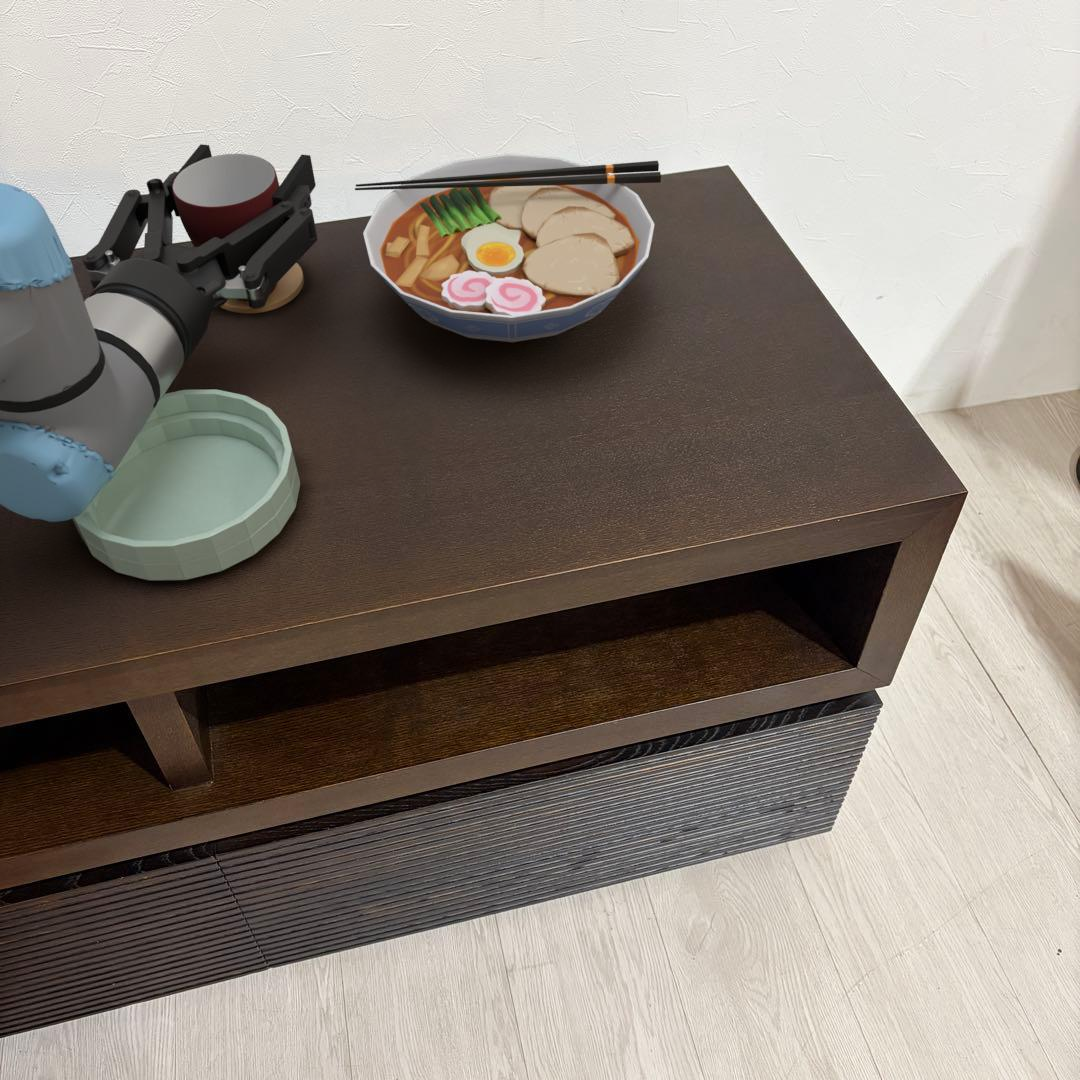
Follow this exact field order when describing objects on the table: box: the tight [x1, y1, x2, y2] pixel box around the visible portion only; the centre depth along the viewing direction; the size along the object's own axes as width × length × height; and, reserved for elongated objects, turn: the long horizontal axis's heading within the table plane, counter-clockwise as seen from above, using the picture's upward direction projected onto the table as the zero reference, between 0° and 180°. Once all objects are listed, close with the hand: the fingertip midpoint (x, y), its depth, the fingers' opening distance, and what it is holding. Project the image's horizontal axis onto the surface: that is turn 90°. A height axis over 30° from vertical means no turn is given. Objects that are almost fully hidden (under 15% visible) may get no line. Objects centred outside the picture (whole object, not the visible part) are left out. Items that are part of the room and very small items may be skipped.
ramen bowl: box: [354, 153, 662, 343], centre depth 88 cm, size 25×23×8 cm
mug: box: [172, 153, 280, 301], centre depth 90 cm, size 10×8×10 cm
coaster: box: [219, 262, 305, 314], centre depth 94 cm, size 8×8×1 cm
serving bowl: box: [71, 388, 301, 581], centre depth 75 cm, size 15×15×4 cm
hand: (258, 165), depth 90 cm, fingers closed on mug, 8 cm apart
